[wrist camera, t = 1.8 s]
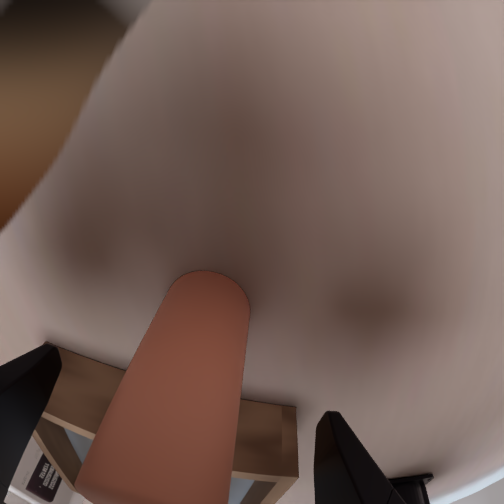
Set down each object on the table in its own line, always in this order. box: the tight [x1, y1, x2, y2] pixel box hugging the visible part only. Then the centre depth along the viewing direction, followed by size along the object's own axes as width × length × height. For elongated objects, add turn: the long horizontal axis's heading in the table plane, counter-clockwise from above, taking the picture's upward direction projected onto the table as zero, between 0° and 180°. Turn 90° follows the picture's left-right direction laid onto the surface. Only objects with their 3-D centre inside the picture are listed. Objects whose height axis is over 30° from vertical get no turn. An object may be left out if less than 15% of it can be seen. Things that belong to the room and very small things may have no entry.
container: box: [3, 436, 85, 504], centre depth 17 cm, size 8×8×13 cm
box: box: [32, 342, 299, 504], centre depth 16 cm, size 15×15×4 cm
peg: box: [74, 271, 250, 504], centre depth 9 cm, size 4×4×9 cm
